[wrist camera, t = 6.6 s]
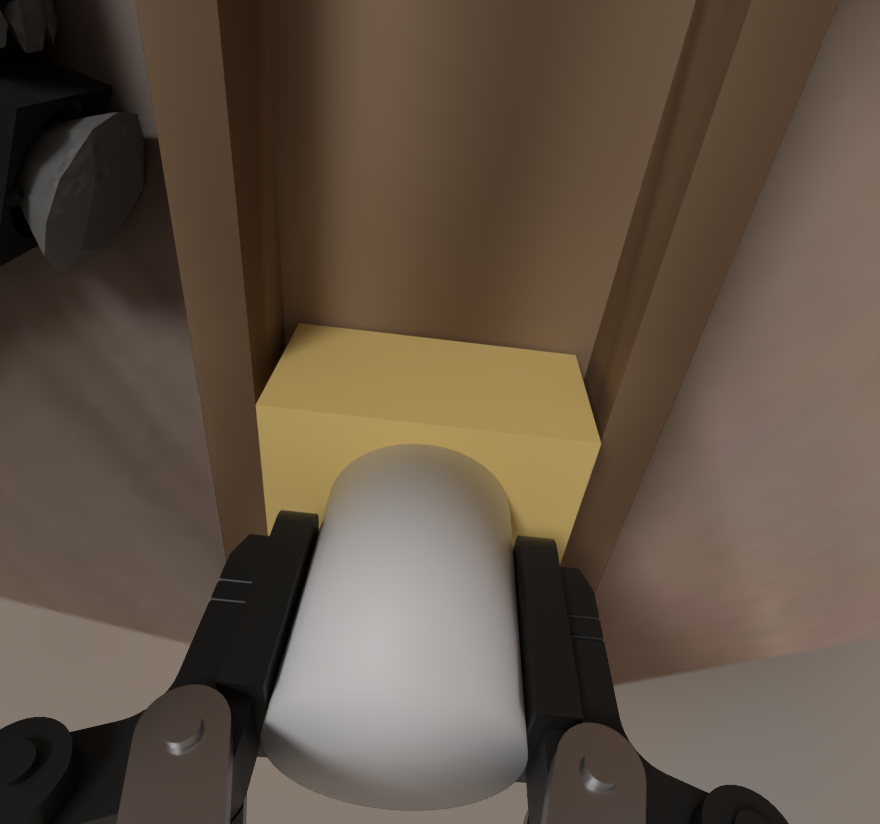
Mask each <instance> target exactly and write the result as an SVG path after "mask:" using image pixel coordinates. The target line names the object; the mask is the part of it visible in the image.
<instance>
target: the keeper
mask: <svg viewBox="0 0 880 824" xmlns="http://www.w3.org/2000/svg"><path fill="white" fill-rule="evenodd" d="M256 414H257V424H258V435H259V445H260V456H261V466H262V477H263V487H264V498H265V508H266V519H267V529H268V536H270V533H271V531H272V528H273V525H274V523H275V520H276V517H277V515H278V513H279V512H280V511H281V510H286V511H296V512H305V513H315V514H318V518H319V533H318V536H317V540H316V543H315V547H314V550H313V553H312V557H311V560H310V564H309V567H308V571H307V574H306V578H305V581H304V585H303V588H302V592H301V595H300V599H299V602H298V606H297V609H296V612H295V616H294V619H293V623H292V626H291V630H290V633H289V637H288V640H287V644H286V647H285V651H284V654H283V658H282V661H281V665H280V668H279V671H278V675H277V678H276V682H275V685H274V689H273V692H272V696H271V699H270V703H269V706H268V710H267V713H266V717H265V720H264V724H263V727H262V731H261V743H262V746H263V750H264V752H265V754H266V755H267V757H268V759H269V760H270V761H271V762H272V764H274V766H275V767H276V768H277V769H278V770H279V771H281V772H282V773H283V774H284V775H286V776H287V777H288V778H290V779H291V780H293V781H295V782H296V783H298V784H300V785H302V786H303V787H305V788H308V789H310V790H312V791H314V792H317V793H319V794H322V795H324V796H327V797H330V798H333V799H336V800H340V801H343V802H347V803H351V804H356V805H361V806H366V807H372V808H380V809H389V810H407V811H409V810H410V811H413V810H414V811H421V810H437V809H447V808H452V807H458V806H464V805H467V804H471V803H475V802H478V801H481V800H484V799H487V798H489V797H492V796H494V795H496V794H498V793H500V792H501V791H503V790H505V789H507V788H508V787H509V786H511V785H512V784H513V783H514V782H515V781H516V780H517V779H518V778H519V777H520V776H521V774H522V773H523V771H524V769H525V767H526V764H527V760H528V749H527V735H526V722H525V708H524V694H523V681H522V667H521V653H520V640H519V626H518V612H517V598H516V585H515V571H514V557H513V548H514V544H515V540H516V538H517V536H518V535H520V536H530V537H539V538H549V539H554V540H555V542H556V545H557V551H558V557H559V564H560V563H561V560H562V557H563V554H564V551H565V548H566V546H567V543H568V540H569V537H570V534H571V531H572V528H573V525H574V522H575V519H576V516H577V513H578V510H579V508H580V505H581V502H582V499H583V496H584V493H585V490H586V487H587V484H588V481H589V478H590V475H591V472H592V470H593V467H594V464H595V461H596V458H597V455H598V452H599V449H600V446H601V441H600V437H599V434H598V431H597V427H596V424H595V420H594V417H593V413H592V410H591V406H590V403H589V399H588V396H587V392H586V389H585V385H584V382H583V379H582V375H581V372H580V368H579V365H578V361H577V358H576V355H570V354H562V353H553V352H544V351H536V350H527V349H519V348H510V347H501V346H493V345H484V344H476V343H467V342H458V341H450V340H441V339H433V338H424V337H415V336H407V335H398V334H390V333H381V332H372V331H364V330H355V329H347V328H338V327H329V326H321V325H312V324H303V323H299V325H298V326H297V328H296V330H295V332H294V334H293V336H292V338H291V340H290V341H289V343H288V345H287V347H286V349H285V351H284V353H283V355H282V356H281V358H280V360H279V362H278V364H277V366H276V368H275V370H274V371H273V373H272V375H271V377H270V379H269V381H268V383H267V385H266V386H265V388H264V390H263V392H262V394H261V396H260V398H259V400H258V401H257V403H256Z"/></svg>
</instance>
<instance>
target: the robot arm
mask: <svg viewBox="0 0 880 824" xmlns="http://www.w3.org/2000/svg"><path fill="white" fill-rule="evenodd" d="M318 533H319V518H318V514H315V513H305V512H296V511H286V510H281V511H280V512H279V513H278V515H277V517H276V520H275V523H274V525H273V528H272V531H271V533H270V536H265V535H255V534H249V535H248V536H247V537H246V538H245V539H244V540H243V541H242V542H241V543H240V544H239V545H238V546H237V547H236V548H235V549H234V550H233V551H232V552H231V553H230V555H229V557H228V560H227V562H226V564H225V566H224V569H223V571H222V573H221V576H220V581H219V582H218V583H217V585H216V587H215V590H214V592H213V594H212V598H211V601H210V602H209V603H208V606H207V608H206V610H205V613H204V615H203V617H202V620H201V622H200V624H199V627H198V629H197V631H196V634H195V636H194V638H193V641H192V643H191V645H190V647H189V650H188V652H187V654H186V657H185V660H184V661H183V664H182V666H181V668H180V671H179V673H178V675H177V677H176V679H175V681H174V682H173V684H172V685H171V687H170V688H169V689H168V691H167V692H166V693H165V694H164V695H162V696H160V697H159V698H158V699H156V700H155V701H154V702H153V703H152V704H151V705H150V706H149V707H148V708H147V709H146V710H144V711H142V712H140V713H139V714H137V715H135V716H132V717H130V718H127V719H124V720H120V721H116V722H112V723H108V724H103V725H99V726H95V727H91V728H86V729H82V730H77V731H73V732H69V731H68V729H67V728H66V727H65V726H64V725H63V724H62V723H61V722H59V721H57V720H55V719H52V718H47V717H33V718H27V719H23V720H20V721H17V722H15V723H12V724H10V725H8V726H6V727H4V728H2V729H1V730H0V824H246V814H247V813H246V812H247V790H248V787H249V783H250V779H251V775H252V772H253V769H254V765H255V762H256V758H257V756H258V757H267V755H266V754H265V752H264V750H263V746H262V743H261V731H262V727H263V724H264V720H265V717H266V713H267V710H268V706H269V703H270V699H271V696H272V692H273V689H274V685H275V682H276V678H277V675H278V671H279V668H280V665H281V661H282V658H283V654H284V651H285V647H286V644H287V640H288V637H289V633H290V630H291V626H292V623H293V619H294V616H295V612H296V609H297V606H298V602H299V599H300V595H301V592H302V588H303V585H304V581H305V578H306V574H307V571H308V567H309V564H310V560H311V557H312V553H313V550H314V547H315V543H316V540H317V536H318ZM513 557H514V571H515V585H516V598H517V612H518V626H519V640H520V653H521V667H522V681H523V694H524V708H525V722H526V735H527V749H528V760H527V764H526V767H525V769H524V771H523V773H522V774H521V776H520V777H519V778H518V779H517V780H516V781H515V782H524V783H527V797H528V811H527V814H526V816H525V820H524V823H523V824H789V823H788V822H787V821H786V819H785V818H784V817H783V815H782V814H780V812H779V811H778V810H777V809H776V807H774V806H773V805H772V804H771V803H770V802H769V801H768V800H766V799H765V798H764V797H762V796H761V795H759V794H758V793H756V792H754V791H752V790H750V789H747V788H745V787H742V786H737V785H724V786H720V787H718V788H715V789H714V790H713V791H712V792H710V793H707V792H705V791H702V790H700V789H698V788H696V787H693V786H691V785H689V784H687V783H685V782H683V781H680V780H678V779H676V778H674V777H672V776H669V775H667V774H665V773H663V772H661V771H660V770H658V769H656V768H655V767H653V766H652V765H651V764H649V763H648V762H647V761H646V760H645V759H644V758H643V757H642V756H641V755H640V754H639V753H638V752H637V751H636V750H635V748H634V747H633V746H632V744H631V743H630V741H629V740H628V738H627V736H626V734H625V732H624V730H623V728H622V725H621V721H620V718H619V713H618V708H617V703H616V698H615V693H614V688H613V683H612V678H611V673H610V668H609V664H608V659H607V654H606V649H605V644H604V642H603V634H602V629H601V625H600V621H599V620H598V617H599V615H598V610H597V605H596V600H595V595H594V591H593V589H592V588H591V586H590V585H589V583H588V582H587V580H586V579H585V577H584V576H583V574H582V573H581V571H580V569H578V568H569V567H560V564H559V557H558V551H557V545H556V542H555V540H554V539H549V538H539V537H530V536H520V535H518V536H517V538H516V540H515V544H514V548H513Z"/></svg>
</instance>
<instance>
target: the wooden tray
mask: <svg viewBox="0 0 880 824" xmlns="http://www.w3.org/2000/svg"><path fill="white" fill-rule="evenodd" d="M838 2H839V0H136V5H137V11H138V17H139V24H140V30H141V36H142V42H143V48H144V54H145V61H146V67H147V73H148V79H149V85H150V92H151V98H152V104H153V110H154V116H155V122H156V129H157V135H158V141H159V147H160V153H161V160H162V166H163V172H164V178H165V184H166V191H167V197H168V203H169V209H170V215H171V221H172V228H173V234H174V240H175V246H176V252H177V259H178V265H179V271H180V277H181V283H182V290H183V296H184V302H185V308H186V314H187V320H188V327H189V333H190V339H191V345H192V351H193V358H194V364H195V370H196V376H197V382H198V389H199V395H200V401H201V407H202V413H203V419H204V426H205V432H206V438H207V444H208V450H209V457H210V463H211V469H212V475H213V481H214V488H215V494H216V500H217V506H218V512H219V518H220V525H221V531H222V537H223V543H224V549H225V556H226V562H227V560H228V557H229V555H230V553H231V552H232V551H233V550H234V549H235V548H236V547H237V546H238V545H239V544H240V543H241V542H242V541H243V540H244V539H245V538H246V537H247V536H248V535H249V534H255V535H265V536H268V529H267V519H266V508H265V498H264V487H263V477H262V466H261V456H260V445H259V435H258V424H257V414H256V403H257V401H258V400H259V398H260V396H261V394H262V392H263V390H264V388H265V386H266V385H267V383H268V381H269V379H270V377H271V375H272V373H273V371H274V370H275V368H276V366H277V364H278V362H279V360H280V358H281V356H282V355H283V353H284V351H285V349H286V347H287V345H288V343H289V341H290V340H291V338H292V336H293V334H294V332H295V330H296V328H297V326H298V325H299V323H303V324H312V325H321V326H329V327H338V328H347V329H355V330H364V331H372V332H381V333H390V334H398V335H407V336H415V337H424V338H433V339H441V340H450V341H458V342H467V343H476V344H484V345H493V346H501V347H510V348H519V349H527V350H536V351H544V352H553V353H562V354H570V355H576V358H577V361H578V365H579V368H580V372H581V375H582V379H583V382H584V385H585V389H586V392H587V396H588V399H589V403H590V406H591V410H592V413H593V417H594V420H595V424H596V427H597V431H598V434H599V437H600V441H601V446H600V449H599V452H598V455H597V458H596V461H595V464H594V467H593V470H592V472H591V475H590V478H589V481H588V484H587V487H586V490H585V493H584V496H583V499H582V502H581V505H580V508H579V510H578V513H577V516H576V519H575V522H574V525H573V528H572V531H571V534H570V537H569V540H568V543H567V546H566V548H565V551H564V554H563V557H562V560H561V563H560V567H569V568H578V569H580V571H581V573H582V574H583V576H584V577H585V579H586V580H587V582H588V583H589V585H590V586H591V588H592V589H593V591H594V594H595V591H596V589H597V586H598V584H599V582H600V579H601V577H602V574H603V572H604V569H605V567H606V565H607V562H608V560H609V557H610V555H611V552H612V550H613V548H614V545H615V543H616V540H617V538H618V536H619V533H620V531H621V528H622V526H623V523H624V521H625V519H626V516H627V514H628V511H629V509H630V506H631V504H632V502H633V499H634V497H635V494H636V492H637V489H638V487H639V485H640V482H641V480H642V477H643V475H644V473H645V470H646V468H647V465H648V463H649V460H650V458H651V456H652V453H653V451H654V448H655V446H656V443H657V441H658V439H659V436H660V434H661V431H662V429H663V426H664V424H665V422H666V419H667V417H668V414H669V412H670V410H671V407H672V405H673V402H674V400H675V397H676V395H677V393H678V390H679V388H680V385H681V383H682V380H683V378H684V376H685V373H686V371H687V368H688V366H689V363H690V361H691V359H692V356H693V354H694V351H695V349H696V347H697V344H698V342H699V339H700V337H701V334H702V332H703V330H704V327H705V325H706V322H707V320H708V317H709V315H710V313H711V310H712V308H713V305H714V303H715V300H716V298H717V296H718V293H719V291H720V288H721V286H722V284H723V281H724V279H725V276H726V274H727V271H728V269H729V267H730V264H731V262H732V259H733V257H734V254H735V252H736V250H737V247H738V245H739V242H740V240H741V237H742V235H743V233H744V230H745V228H746V225H747V223H748V221H749V218H750V216H751V213H752V211H753V208H754V206H755V204H756V201H757V199H758V196H759V194H760V191H761V189H762V187H763V184H764V182H765V179H766V177H767V174H768V172H769V170H770V167H771V165H772V162H773V160H774V158H775V155H776V153H777V150H778V148H779V145H780V143H781V141H782V138H783V136H784V133H785V131H786V128H787V126H788V124H789V121H790V119H791V116H792V114H793V111H794V109H795V107H796V104H797V102H798V99H799V97H800V95H801V92H802V90H803V87H804V85H805V82H806V80H807V78H808V75H809V73H810V70H811V68H812V65H813V63H814V61H815V58H816V56H817V53H818V51H819V49H820V46H821V44H822V41H823V39H824V36H825V34H826V32H827V29H828V27H829V24H830V22H831V19H832V17H833V15H834V12H835V10H836V7H837V5H838Z"/></svg>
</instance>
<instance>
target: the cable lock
mask: <svg viewBox="0 0 880 824" xmlns="http://www.w3.org/2000/svg"><path fill="white" fill-rule="evenodd" d="M56 26H57V18H56V14H55V10H54V6H53V2H52V0H0V266H2V265H4V264H5V263H7V262H9V261H11V260H12V259H14V258H16V257H18V256H20V255H21V254H23V253H25V252H27V251H28V250H30V249H32V248H34V247H36V246H37V245H39V247H40V249H41V251H42V253H43V255H44V257H45V258H46V259H47V260H48V261H49V262H50V263H51V264H52V266H53V267H54V268H55V269H56V270H57V271H58V272H59V273H60V274H64V273H66V272H69V271H71V270H73V269H76V268H78V267H81V266H82V265H84V264H85V263H87V262H89V261H90V260H92V259H93V258H95V257H96V256H98V255H100V254H101V253H103V252H104V251H106V250H107V249H109V248H110V246H111V244H112V243H113V241H114V239H115V237H116V236H117V234H118V232H119V230H120V229H121V227H122V225H123V223H124V222H125V220H126V218H127V216H128V215H129V213H130V211H131V209H132V208H133V206H134V204H135V202H136V201H137V199H138V197H139V195H140V193H141V192H142V190H143V188H144V139H143V134H142V130H141V127H140V123H139V120H138V116H137V114H132V113H123V112H114V113H108V114H106V113H107V109H108V104H109V100H110V96H111V91H112V86H110V85H108V84H105V83H103V82H100V81H98V80H95V79H93V78H90V77H88V76H86V75H83V74H81V73H78V72H76V71H73V70H71V69H68V68H66V67H63V66H61V65H58V64H55V63H53V62H50V61H47V60H44V59H41V58H38V57H36V56H33V55H30V54H27V53H31V52H36V51H41V50H43V44H44V39H45V40H46V41H47V42H48V43H50V44H51V45H52V46H53V47H54V41H55V34H56ZM14 48H22V49H23V50H24V52H25V53H24V52H22V51H19V50H16V49H14Z"/></svg>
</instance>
